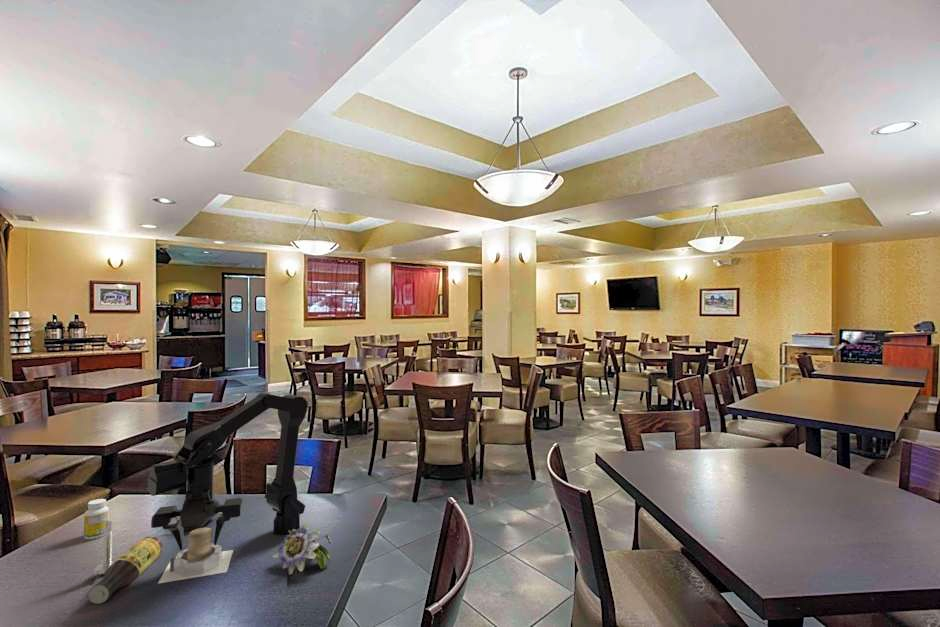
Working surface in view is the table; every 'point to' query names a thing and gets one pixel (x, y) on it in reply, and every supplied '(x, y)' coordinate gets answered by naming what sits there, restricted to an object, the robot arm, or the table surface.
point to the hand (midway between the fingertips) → (198, 546)
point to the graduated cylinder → (106, 550)
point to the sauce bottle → (126, 568)
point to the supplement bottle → (95, 519)
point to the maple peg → (199, 544)
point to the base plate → (221, 568)
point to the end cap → (191, 528)
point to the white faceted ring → (195, 562)
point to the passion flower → (301, 549)
